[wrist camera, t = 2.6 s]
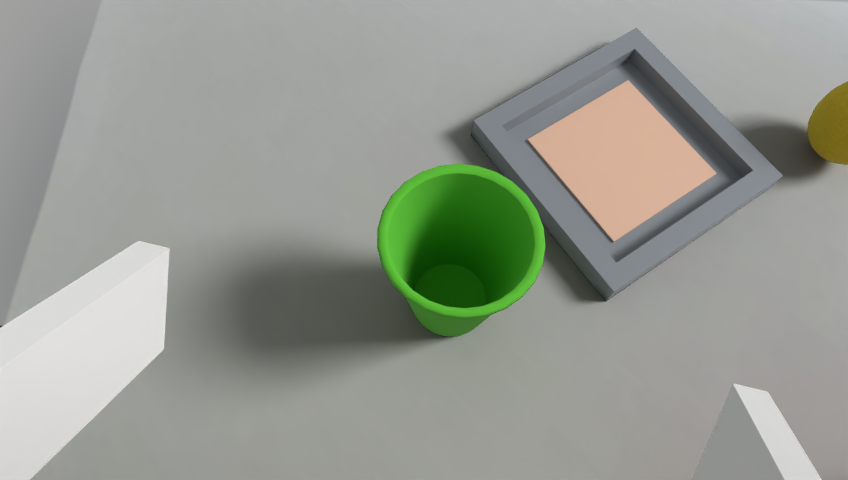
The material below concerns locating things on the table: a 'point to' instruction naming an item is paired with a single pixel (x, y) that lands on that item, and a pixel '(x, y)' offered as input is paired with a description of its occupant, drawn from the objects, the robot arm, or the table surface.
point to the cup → (460, 245)
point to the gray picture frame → (623, 160)
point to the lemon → (831, 126)
